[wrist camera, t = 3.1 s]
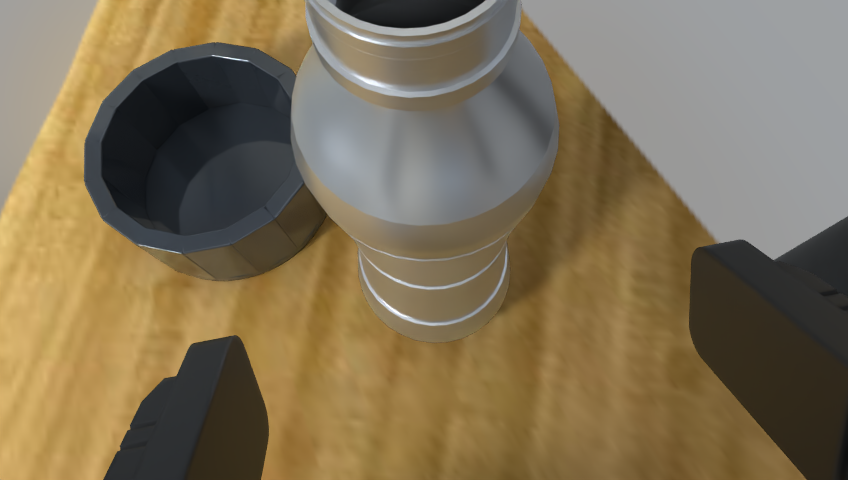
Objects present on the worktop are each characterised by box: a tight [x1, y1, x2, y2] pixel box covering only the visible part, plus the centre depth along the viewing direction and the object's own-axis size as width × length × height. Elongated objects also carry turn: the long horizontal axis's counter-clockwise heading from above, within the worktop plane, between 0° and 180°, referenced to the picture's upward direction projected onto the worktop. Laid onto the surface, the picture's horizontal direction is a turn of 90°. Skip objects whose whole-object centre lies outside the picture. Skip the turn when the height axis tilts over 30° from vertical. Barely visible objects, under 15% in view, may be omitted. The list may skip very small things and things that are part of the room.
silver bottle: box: [291, 0, 559, 343], centre depth 19 cm, size 6×7×20 cm
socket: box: [84, 42, 327, 281], centre depth 28 cm, size 10×10×4 cm
